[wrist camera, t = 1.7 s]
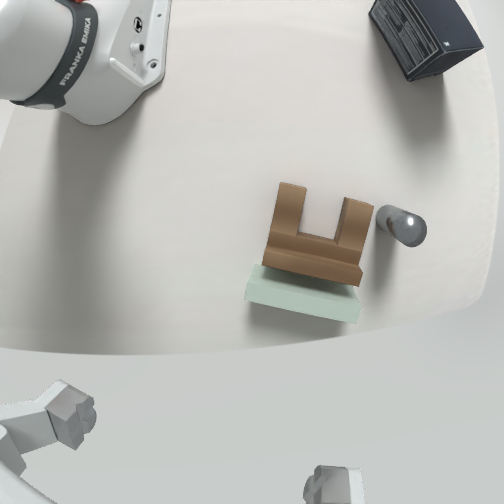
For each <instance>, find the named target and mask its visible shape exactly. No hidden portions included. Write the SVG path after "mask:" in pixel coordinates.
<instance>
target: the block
mask: <svg viewBox="0 0 504 504" xmlns="http://www.w3.org/2000/svg"><path fill="white" fill-rule="evenodd" d="M306 190H307V189H306V188H305V187H300V186H296V185H292V184H287V183H282V182H281V183H280V186H279V190H278V195H277V200H276V205H275V209H274V214H273V219H272V224H271V228H270V233H269V238H268V242H267V246H266V249H265V252H264V256H263V261H262V265H264V266H268V267H273V268H277V269H281V270H286V271H290V272H295V273H299V274H304V275H308V276H312V277H317V278H321V279H326V280H330V281H335V282H339V283H344V284H349V285H353V286H358V287H359V284H360V281H361V278H362V274H363V272H362V271H361V269H360V267H359V266H358V264H359V261H360V257H361V254H362V250H363V247H364V243H365V240H366V236H367V232H368V228H369V225H370V221H371V217H372V213H373V209H374V206H372V205H370V204H368V203H365V202H361V201H357V200H353V199H350V198H346V197H344V202H343V206H342V210H341V214H340V218H339V223H338V227H337V230H336V234H335V238H334V240H332V239H328V238H324V237H320V236H315V235H311V234H307V233H302V232H298V231H297V230H298V226H299V222H300V217H301V213H302V208H303V204H304V199H305V195H306Z"/></svg>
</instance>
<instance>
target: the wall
mask: <svg viewBox="0 0 504 504" xmlns="http://www.w3.org/2000/svg"><path fill="white" fill-rule="evenodd" d="M244 300H247V301H251V302H255V303H260V304H264V305H268V306H273V307H277V308H282V309H286V310H291V311H295V312H300V313H305V314H309V315H314V316H319V317H324V318H329V319H334V320H339V321H344V322H349V323H354V324H356V322H357V319H358V316H359V314H360V311H361V308H362V306H361V304H360V302H359V300H358V298H357V295H356V293H355V291H354V289H353V287H352V286H350V285H346V284H341V283H336V282H332V281H327V280H323V279H318V278H314V277H309V276H305V275H301V274H296V273H292V272H287V271H283V270H278V269H274V268H270V267H265V266H261V265H256V264H255V266H254V268H253V270H252V273H251V275H250V278H249V280H248V282H247V287H246V292H245V297H244Z"/></svg>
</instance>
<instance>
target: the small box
mask: <svg viewBox="0 0 504 504" xmlns="http://www.w3.org/2000/svg"><path fill="white" fill-rule="evenodd" d="M369 15H370V17H371V18H372V20H373V22H374V23H375V24H376V26H377V28H378V29H379V31H380V32H381V34H382V36H383V37H384V39H385V41H386V42H387V44H388V46H389V47H390V49H391V51H392V53H393V55H394V56H395V58H396V60H397V62H398V64H399V65H400V67H401V69H402V71H403V73H404V75H405V77H406V79H407V80H408V81H414V80H415V79H419V78H424V77H429V76H432V75H433V76H435V75H438V74H440V73H444V72H445V71H447V70H448V69H450V68H451V67H453V66H454V65H456V64H458V63H459V62H461V61H463V60H464V59H466V58H467V57H469V56H471V55H472V54H474V53H476V52H477V51H479V50H481V49H483V48H484V46H483V44H482V42H481V41H480V39H479V37H478V35H477V34H476V32H475V30H474V29H473V27H472V25H471V24H470V22H469V20H468V19H467V17H466V16H465V14H464V13H463V11H462V10H461V8H460V7H459V5H458V4H457V2H456V1H455V0H375V2H374V4H373V6H372V8H371V10H370V12H369Z"/></svg>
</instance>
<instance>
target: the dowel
mask: <svg viewBox="0 0 504 504" xmlns="http://www.w3.org/2000/svg"><path fill="white" fill-rule="evenodd" d="M376 221H377V224H378V226H379V227H380V228H381V229H383V230H384V231H386V232H387V233H389V234H390V235H391V236H393V237H394V238H396V239H397V240H399V241H400V242H401V243H403V244H404V245H406V246H408V247H416V246H418V245H420V244H421V243H422V242H423V241H424V239H425V237H426V234H427V226H426V223H425V221H424V220H423V219H422V218H421V217H420V216H418V215H415V214H412V213H410V212H407V211H405V210H402V209H399V208H397V207H394V206H391V205H385V206H382V207H381V208H380V209H379V210H378V212H377V215H376Z"/></svg>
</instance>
